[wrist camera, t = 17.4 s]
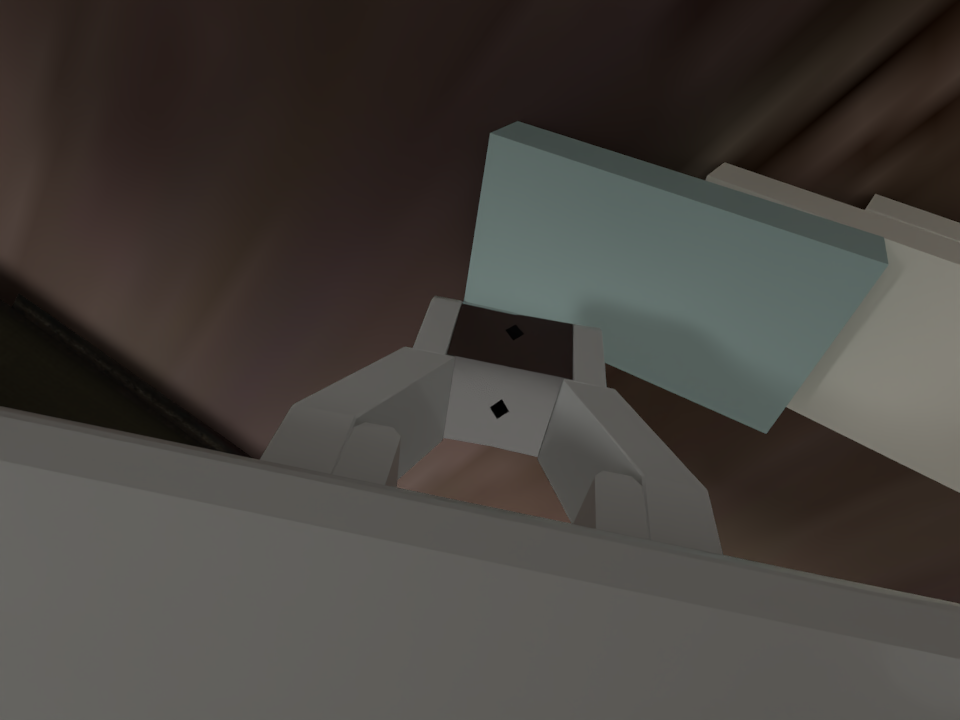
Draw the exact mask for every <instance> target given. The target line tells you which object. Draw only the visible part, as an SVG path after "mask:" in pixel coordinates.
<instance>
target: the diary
mask: <svg viewBox="0 0 960 720" xmlns="http://www.w3.org/2000/svg"><path fill="white" fill-rule="evenodd" d="M0 406H2V407H7V408H12V409H17V410H22V411H27V412H31V413H36V414H41V415H46V416H51V417H56V418H61V419H66V420H70V421H75V422H80V423H85V424H90V425H95V426H100V427H104V428H109V429H114V430H119V431H124V432H129V433H134V434H138V435H143V436H148V437H153V438H158V439H162V440H167V441H172V442H177V443H181V444H186V445H191V446H196V447H201V448H205V449H210V450H215V451H220V452H224V453H229V454H234V455H239V456H244V457H249V458H252V457H250V456H249V455H247V454H246V453H245V452H243V451H242V450H240V449H239V448H238V447H236V446H235V445H234V444H232V443H231V442H229V441H228V440H227V439H225V438H224V437H222V436H221V435H219V434H218V433H217V432H215V431H214V430H212V429H211V428H210V427H208V426H207V425H205V424H204V423H202V422H201V421H200V420H198V419H197V418H195V417H194V416H192V415H191V414H190V413H188V412H187V411H185V410H184V409H183V408H181V407H180V406H178V405H177V404H175V403H174V402H173V401H171V400H170V399H168V398H167V397H165V396H164V395H163V394H161V393H160V392H158V391H157V390H156V389H154V388H153V387H151V386H150V385H148V384H147V383H146V382H144V381H143V380H141V379H140V378H138V377H137V376H136V375H134V374H133V373H131V372H130V371H129V370H127V369H126V368H124V367H123V366H121V365H120V364H119V363H117V362H116V361H114V360H113V359H111V358H110V357H109V356H107V355H106V354H104V353H103V352H102V351H100V350H99V349H97V348H96V347H94V346H93V345H92V344H90V343H89V342H87V341H86V340H84V339H83V338H82V337H80V336H79V335H77V334H76V333H75V332H73V331H72V330H70V329H69V328H67V327H66V326H65V325H63V324H62V323H60V322H59V321H57V320H56V319H55V318H53V317H52V316H50V315H49V314H48V313H46V312H45V311H43V310H42V309H40V308H39V307H38V306H36V305H35V304H33V303H32V302H30V301H29V300H28V299H26V298H25V297H23V296H22V295H21V294H18V296H17V298H16V300H15V302H14V304H13V306H12V307H11V306H9V305H8V304H6V303H5V302H4V301H2V300H1V299H0Z"/></svg>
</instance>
